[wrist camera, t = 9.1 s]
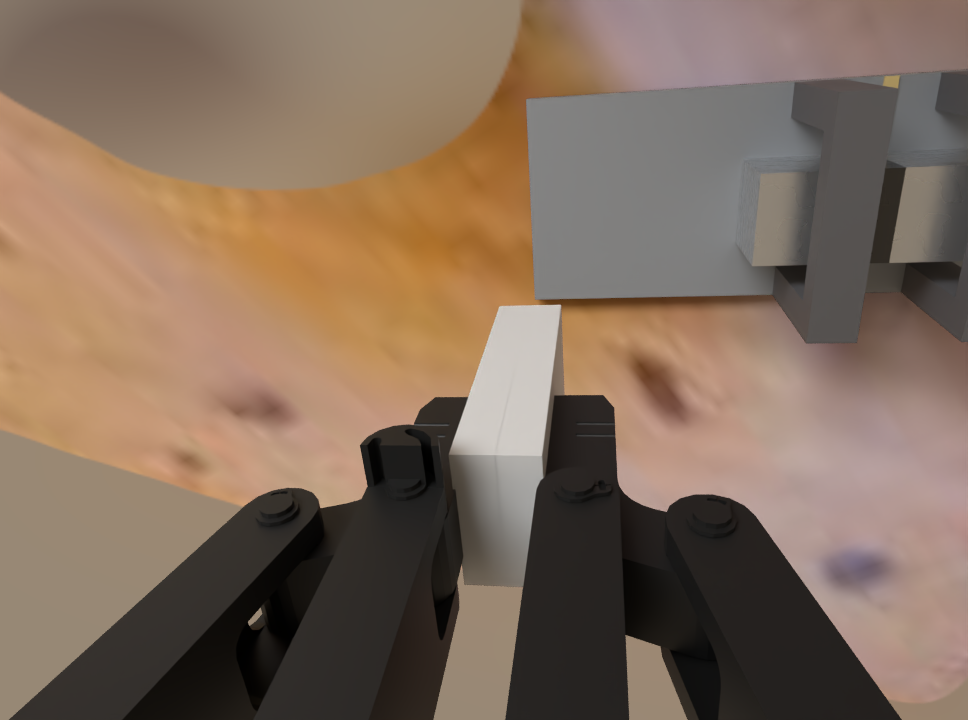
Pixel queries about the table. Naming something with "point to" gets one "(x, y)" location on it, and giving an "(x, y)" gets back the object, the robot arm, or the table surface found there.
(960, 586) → the table surface
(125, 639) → the robot arm
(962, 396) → the table surface
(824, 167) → the grey angular piece
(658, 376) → the table surface
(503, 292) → the table surface
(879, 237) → the grey block
